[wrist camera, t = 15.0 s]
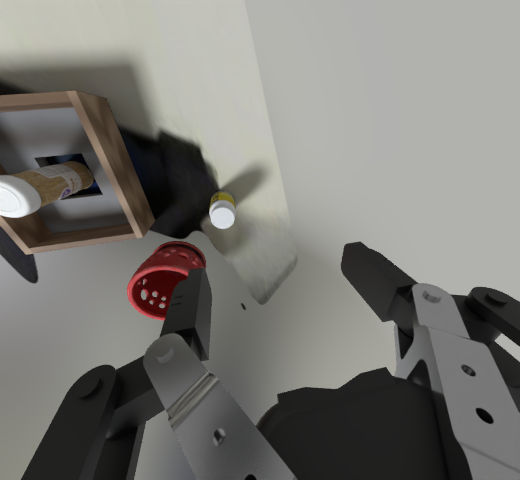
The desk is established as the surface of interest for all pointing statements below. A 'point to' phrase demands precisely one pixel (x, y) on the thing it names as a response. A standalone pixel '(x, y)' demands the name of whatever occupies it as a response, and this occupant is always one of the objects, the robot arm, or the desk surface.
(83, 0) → the desk surface
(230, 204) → the supplement bottle
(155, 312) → the plant pot
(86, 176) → the sprinkles bottle
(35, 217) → the wooden box
